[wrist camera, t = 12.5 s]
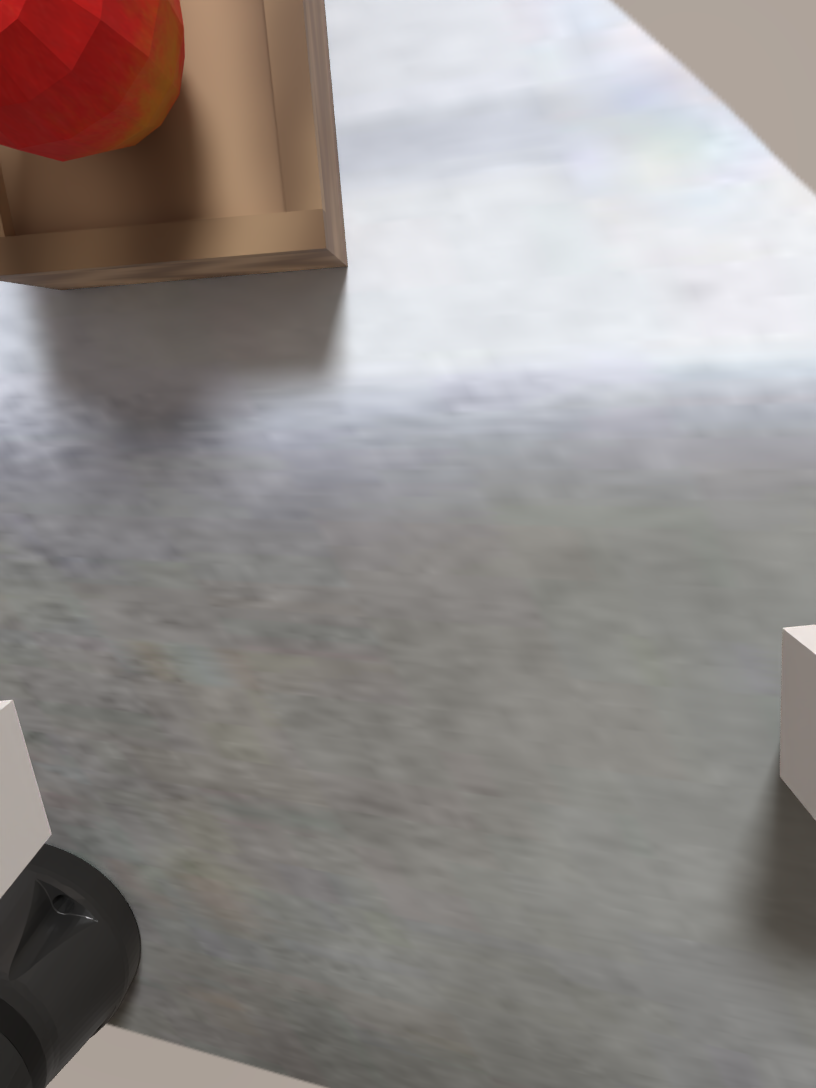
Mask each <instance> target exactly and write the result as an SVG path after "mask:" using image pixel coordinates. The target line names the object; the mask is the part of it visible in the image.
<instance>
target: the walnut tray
mask: <svg viewBox="0 0 816 1088" xmlns="http://www.w3.org/2000/svg"><path fill="white" fill-rule="evenodd" d="M180 6H181V12H182V18H183V25H184V43H185V59H184V66H183V73H182V80H181V87H180V94H179V96H178V98H177V100H176V101H175V103H174V105H173V106H172V108H171V110H170V111H169V113H168V114H167V116H166V118H165V119H164V121H163V123H162V124H161V126H159V127H158V128H157V129H155V130H154V131H153V132H152V133H150V134H149V135H148V136H146V137H145V138H144V139H143V140H141V141H140V142H139V143H138V144H136V145H135V146H130V147H125V148H121V149H116V150H112V151H107V152H103V153H99V154H94V155H90V156H86V157H81V158H77V159H73V160H68V161H64V162H62V161H58V160H54V159H51V158H47V157H43V156H39V155H35V154H32V153H28V152H24V151H20V150H16V149H13V148H10V147H6V146H3V145H0V281H5V282H12V283H18V284H25V285H32V286H38V287H45V288H51V289H58V290H68V289H80V288H92V287H104V286H116V285H128V284H140V283H153V282H165V281H177V280H189V279H201V278H213V277H225V276H237V275H249V274H262V273H274V272H286V271H298V270H310V269H322V268H334V267H346V266H348V264H347V253H346V242H345V230H344V219H343V208H342V196H341V185H340V174H339V162H338V151H337V140H336V128H335V117H334V106H333V94H332V83H331V72H330V60H329V49H328V38H327V26H326V15H325V4H324V0H180Z"/></svg>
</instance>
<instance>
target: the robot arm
mask: <svg viewBox="0 0 816 1088" xmlns="http://www.w3.org/2000/svg"><path fill="white" fill-rule="evenodd" d="M780 777H781V778H782V780H783V781H784V782H785V783H786V785H787V786H788V787H789V788H790V790H791V791H792V792H793V793H794V795H795V796H796V797H797V798H798V799H799V801H800V802H801V803H802V804H803V806H804V807H805V808H806V809H807V811H808V812H809V813H810V814H811V816H812V817H813V818H814V819H815V820H816V625H807V626H797V627H786V628H782V675H781V732H780ZM51 835H52V833H51V830H50V826H49V823H48V819H47V816H46V813H45V809H44V806H43V802H42V799H41V795H40V792H39V788H38V785H37V781H36V778H35V774H34V771H33V767H32V764H31V761H30V757H29V754H28V750H27V747H26V743H25V740H24V736H23V733H22V729H21V726H20V722H19V719H18V716H17V712H16V709H15V705H14V702H13V700H6V701H0V1088H45V1087H46V1086H47V1085H48V1084H49V1082H50V1081H51V1080H52V1079H53V1078H54V1077H55V1076H56V1075H57V1074H58V1073H59V1072H60V1071H61V1069H62V1068H63V1067H64V1066H65V1065H66V1064H67V1063H68V1062H69V1061H70V1060H71V1059H72V1057H73V1056H74V1055H75V1054H76V1053H77V1052H78V1051H79V1050H80V1049H81V1047H82V1046H83V1045H84V1044H85V1043H86V1042H87V1041H88V1040H89V1038H91V1037H92V1036H93V1035H95V1034H96V1033H97V1032H98V1031H99V1030H100V1029H101V1028H102V1027H103V1026H104V1025H105V1024H106V1023H107V1022H108V1021H109V1020H110V1019H111V1017H112V1016H113V1015H114V1013H115V1012H116V1010H117V1009H118V1007H119V1006H120V1004H121V1002H122V1000H123V998H124V996H125V994H126V992H127V990H128V988H129V986H130V984H131V982H132V980H133V978H134V976H135V973H136V970H137V967H138V963H139V958H140V938H139V932H138V928H137V924H136V922H135V919H134V916H133V914H132V912H131V910H130V908H129V906H128V904H127V903H126V901H125V899H124V898H123V896H122V895H121V894H120V892H119V891H118V890H117V889H116V888H115V886H114V885H113V884H112V883H111V882H110V881H109V880H108V879H107V878H106V877H105V876H104V875H103V874H101V873H100V872H99V871H98V870H96V869H95V868H94V867H92V866H91V865H90V864H88V863H87V862H85V861H83V860H82V859H80V858H78V857H76V856H74V855H73V854H70V853H68V852H66V851H64V850H61V849H59V848H56V847H53V846H50V845H46V844H44V843H45V842H46V841H47V840H48V838H49V837H50V836H51Z"/></svg>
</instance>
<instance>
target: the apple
mask: <svg viewBox="0 0 816 1088" xmlns="http://www.w3.org/2000/svg"><path fill="white" fill-rule="evenodd" d="M184 59H185V43H184V25H183V18H182V12H181V6H180V0H0V145H3V146H6V147H10V148H13V149H16V150H20V151H24V152H28V153H32V154H35V155H39V156H43V157H47V158H51V159H54V160H58V161H62V162H64V161H68V160H73V159H77V158H81V157H86V156H90V155H94V154H99V153H103V152H107V151H112V150H116V149H121V148H125V147H130V146H135V145H136V144H138V143H139V142H140V141H141V140H143V139H144V138H145V137H146V136H148V135H149V134H150V133H152V132H153V131H154V130H155V129H157V128H158V127H159V126H161V124H162V123H163V121H164V119H165V118H166V116H167V114H168V113H169V111H170V110H171V108H172V106H173V105H174V103H175V101H176V100H177V98H178V96H179V94H180V87H181V80H182V73H183V66H184Z"/></svg>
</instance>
